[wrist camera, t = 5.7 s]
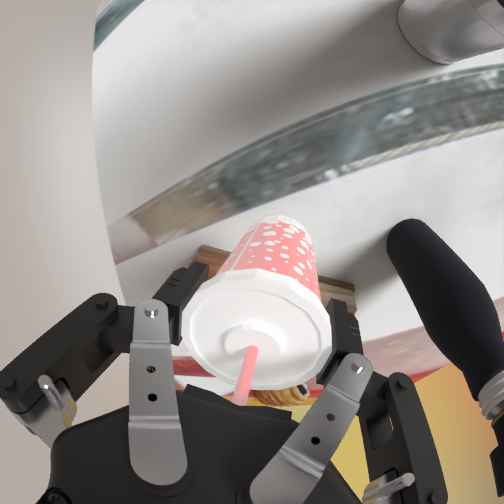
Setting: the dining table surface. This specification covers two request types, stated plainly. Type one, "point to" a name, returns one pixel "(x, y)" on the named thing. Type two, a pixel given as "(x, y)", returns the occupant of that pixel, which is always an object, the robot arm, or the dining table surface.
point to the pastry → (284, 396)
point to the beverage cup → (261, 312)
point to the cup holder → (326, 285)
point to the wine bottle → (455, 319)
